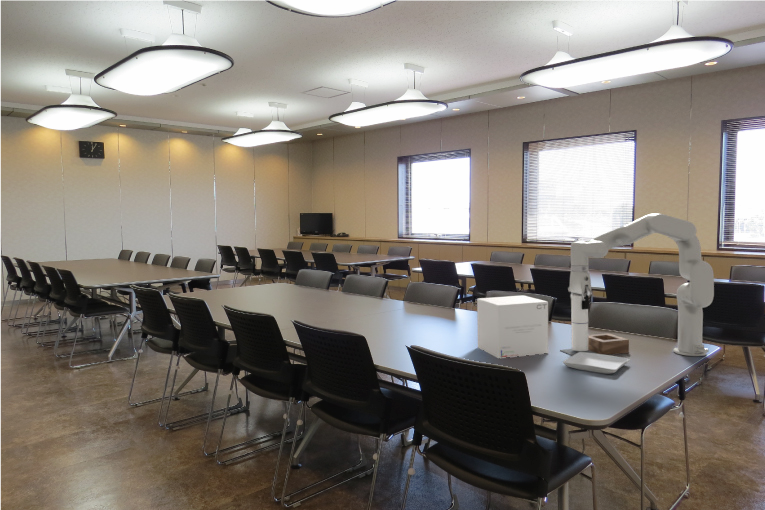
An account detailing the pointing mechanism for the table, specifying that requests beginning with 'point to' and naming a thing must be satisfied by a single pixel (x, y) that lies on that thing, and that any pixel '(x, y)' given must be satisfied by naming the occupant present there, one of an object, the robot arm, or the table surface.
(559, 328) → the table surface
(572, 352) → the mat
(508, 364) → the table surface
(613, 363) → the salad plate
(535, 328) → the cube
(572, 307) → the cylindrical container
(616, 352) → the collar
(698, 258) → the robot arm
